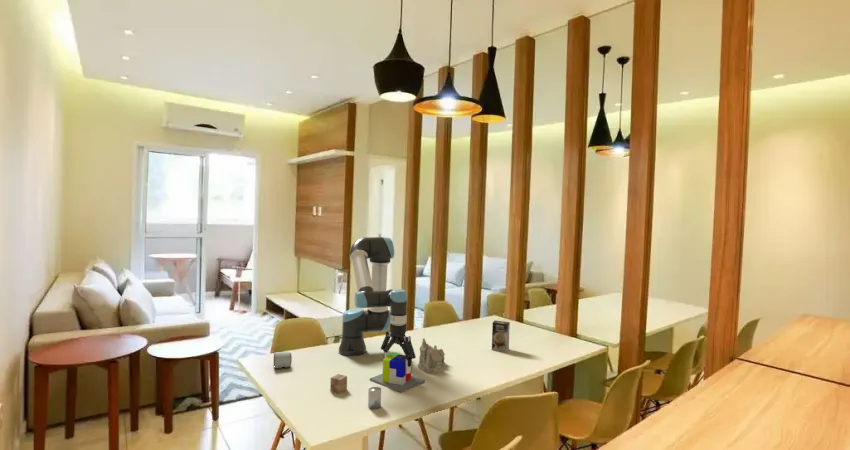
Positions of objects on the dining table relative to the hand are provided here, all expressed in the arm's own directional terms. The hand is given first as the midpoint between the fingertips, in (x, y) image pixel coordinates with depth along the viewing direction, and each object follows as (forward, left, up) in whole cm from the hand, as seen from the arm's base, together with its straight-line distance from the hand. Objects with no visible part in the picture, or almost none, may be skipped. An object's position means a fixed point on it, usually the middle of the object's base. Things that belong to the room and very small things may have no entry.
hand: (397, 369), depth 196 cm
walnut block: (-11, -25, -6) cm, 28 cm away
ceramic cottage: (+1, +26, -6) cm, 26 cm away
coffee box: (+10, +75, -6) cm, 76 cm away
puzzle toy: (0, 0, -5) cm, 5 cm away
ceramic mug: (-55, -27, -6) cm, 61 cm away
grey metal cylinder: (+12, -25, -6) cm, 28 cm away
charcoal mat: (0, 0, -5) cm, 5 cm away
